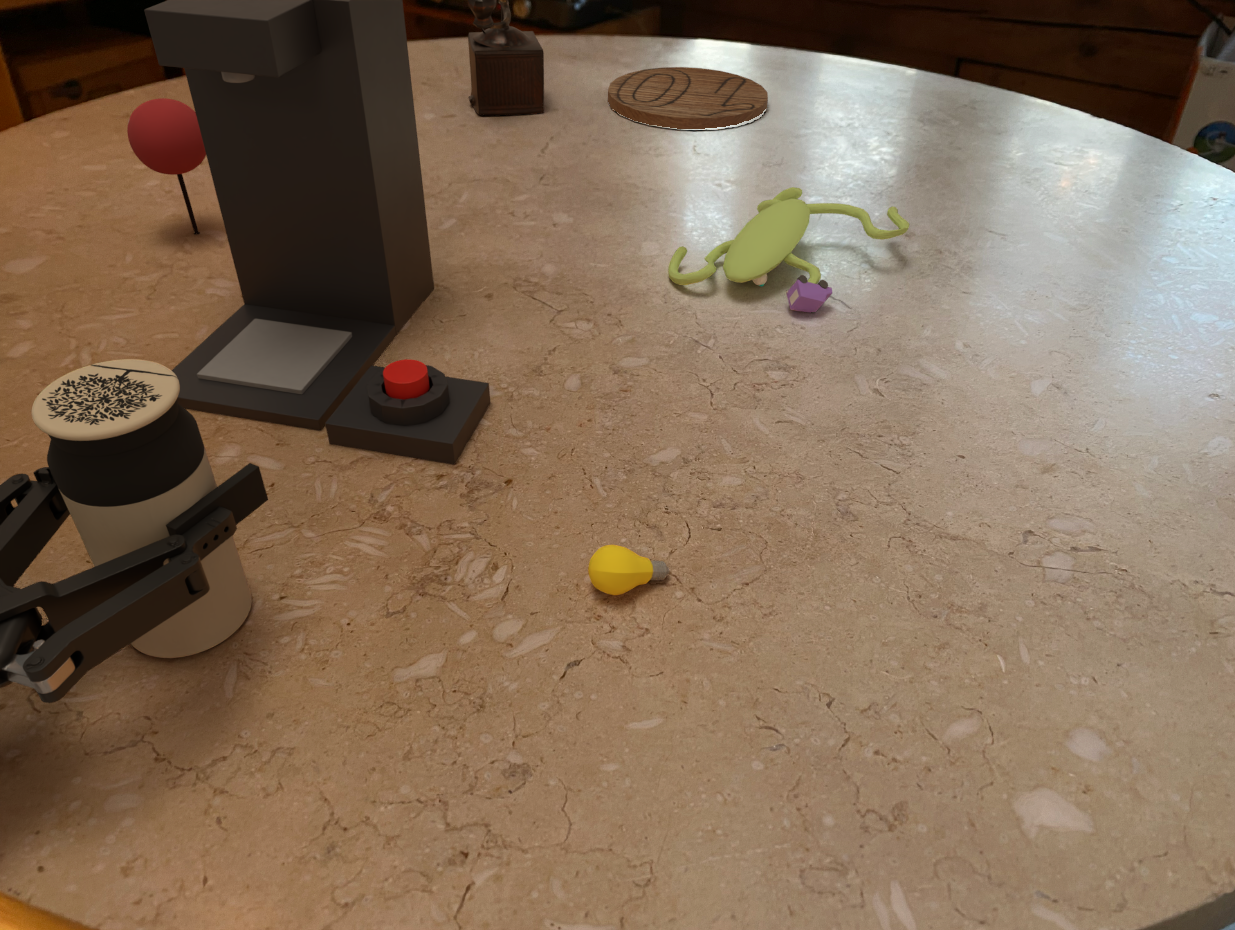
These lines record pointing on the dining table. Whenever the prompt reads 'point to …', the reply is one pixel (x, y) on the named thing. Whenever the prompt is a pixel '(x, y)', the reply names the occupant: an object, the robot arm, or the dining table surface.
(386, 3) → the coffee maker
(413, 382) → the button
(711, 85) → the trivet
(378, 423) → the panel
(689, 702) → the dining table surface
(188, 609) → the travel mug
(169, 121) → the lollipop
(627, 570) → the light bulb
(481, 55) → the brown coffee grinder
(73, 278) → the dining table surface
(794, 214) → the figurine
